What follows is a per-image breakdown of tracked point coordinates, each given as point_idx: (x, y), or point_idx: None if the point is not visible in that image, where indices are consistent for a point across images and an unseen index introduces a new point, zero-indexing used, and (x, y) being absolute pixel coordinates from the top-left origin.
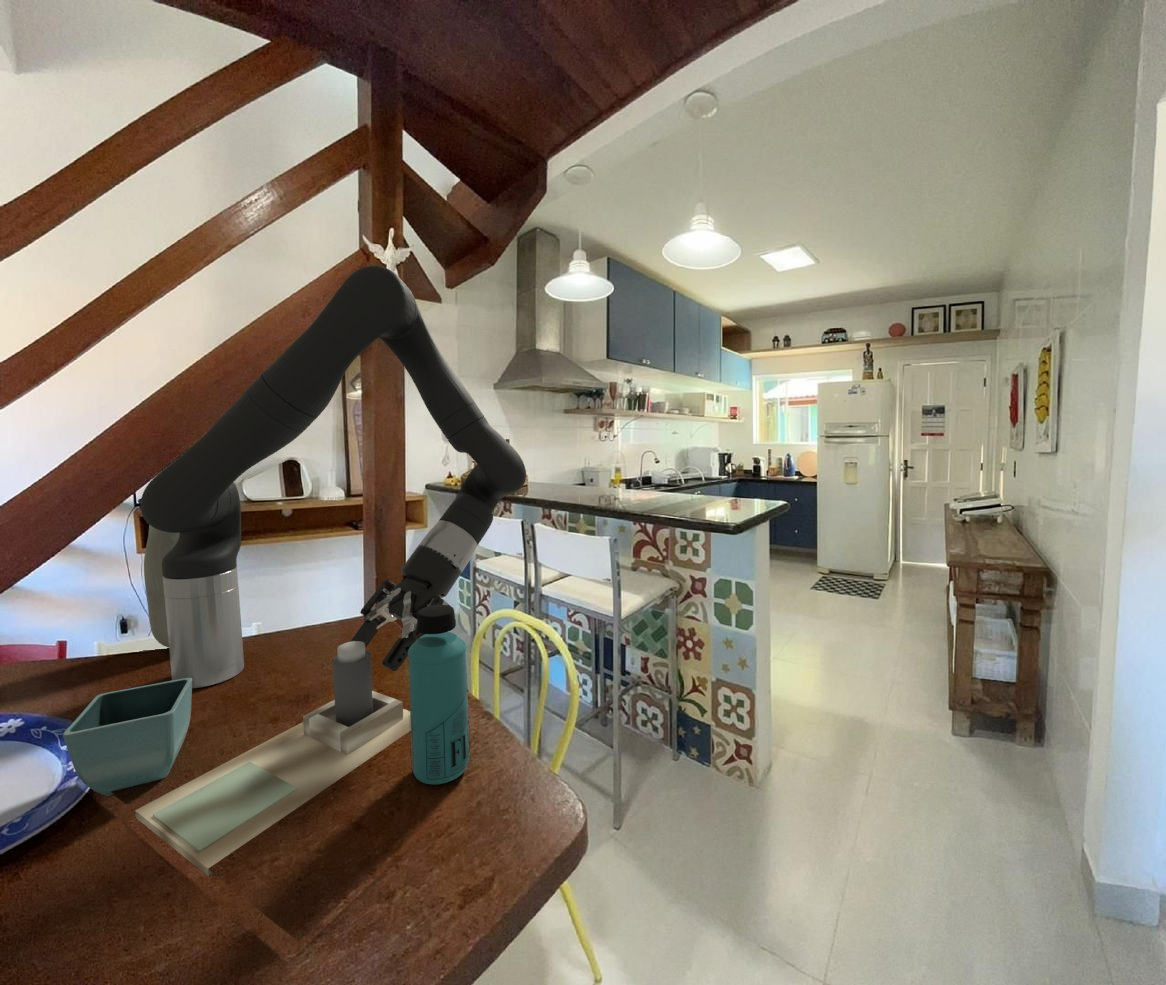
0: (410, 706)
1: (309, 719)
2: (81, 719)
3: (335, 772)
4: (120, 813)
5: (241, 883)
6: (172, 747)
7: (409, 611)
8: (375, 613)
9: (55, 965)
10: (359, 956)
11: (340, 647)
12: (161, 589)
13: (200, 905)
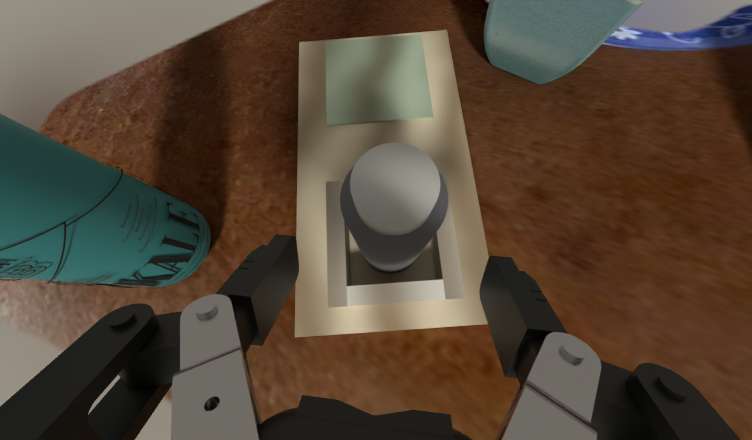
0: (96, 161)
1: None
2: None
3: (313, 166)
4: (466, 32)
5: (269, 61)
6: (486, 20)
7: (173, 416)
8: (539, 381)
9: None
10: (123, 79)
11: (417, 157)
12: None
13: (278, 38)
